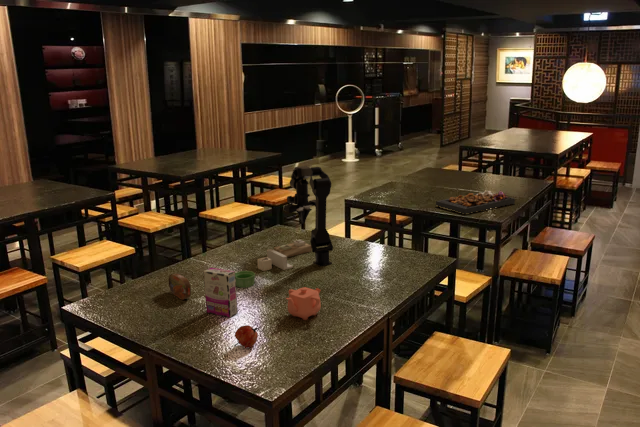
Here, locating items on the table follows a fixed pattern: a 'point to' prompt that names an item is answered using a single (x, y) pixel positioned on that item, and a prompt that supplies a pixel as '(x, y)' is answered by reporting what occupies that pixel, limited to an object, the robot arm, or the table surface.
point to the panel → (294, 250)
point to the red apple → (246, 336)
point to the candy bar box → (220, 292)
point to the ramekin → (245, 279)
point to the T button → (299, 243)
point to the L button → (285, 247)
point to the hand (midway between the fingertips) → (303, 222)
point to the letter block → (264, 264)
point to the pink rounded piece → (304, 302)
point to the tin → (179, 286)
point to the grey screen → (278, 259)
